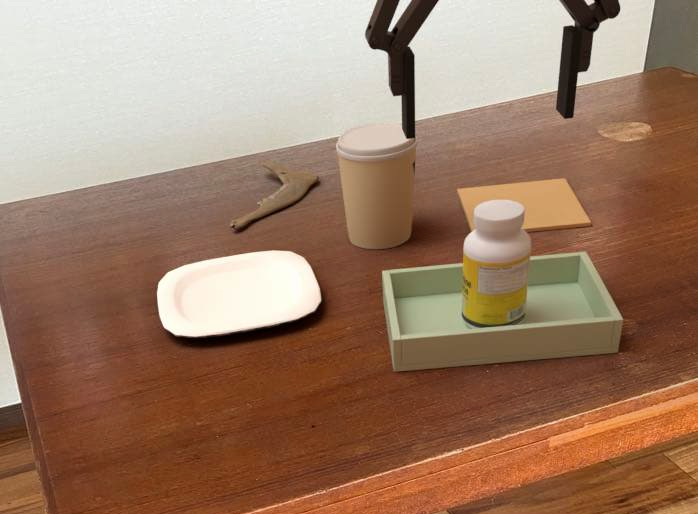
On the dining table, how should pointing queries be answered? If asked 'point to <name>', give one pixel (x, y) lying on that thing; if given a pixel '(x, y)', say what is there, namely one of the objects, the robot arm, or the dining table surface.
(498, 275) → the pill bottle
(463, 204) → the cork mat
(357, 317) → the dining table surface
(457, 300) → the tray
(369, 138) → the coffee cup
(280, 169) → the jawbone
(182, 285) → the plate
